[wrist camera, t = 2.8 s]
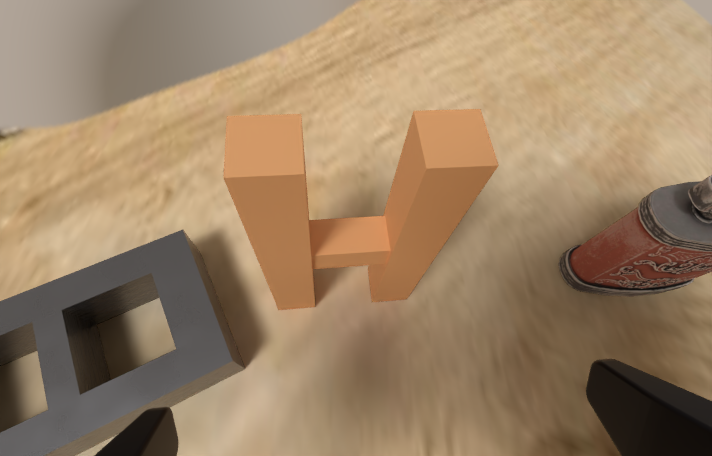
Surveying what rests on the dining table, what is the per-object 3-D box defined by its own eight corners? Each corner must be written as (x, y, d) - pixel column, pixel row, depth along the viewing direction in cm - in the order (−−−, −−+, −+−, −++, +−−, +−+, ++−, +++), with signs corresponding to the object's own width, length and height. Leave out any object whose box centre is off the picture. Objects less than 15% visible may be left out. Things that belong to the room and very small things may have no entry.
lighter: (670, 244, 25) (863, 146, 16) (692, 294, 23) (919, 218, 15) (552, 245, 24) (685, 144, 15) (567, 297, 23) (724, 220, 14)
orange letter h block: (401, 266, 23) (480, 108, 11) (406, 299, 22) (498, 165, 10) (278, 275, 22) (227, 116, 10) (278, 309, 21) (223, 177, 10)
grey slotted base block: (199, 252, 22) (182, 229, 20) (245, 368, 20) (232, 360, 17) (-67, 362, 19) (-133, 353, 16) (-55, 522, 16) (-130, 542, 14)
